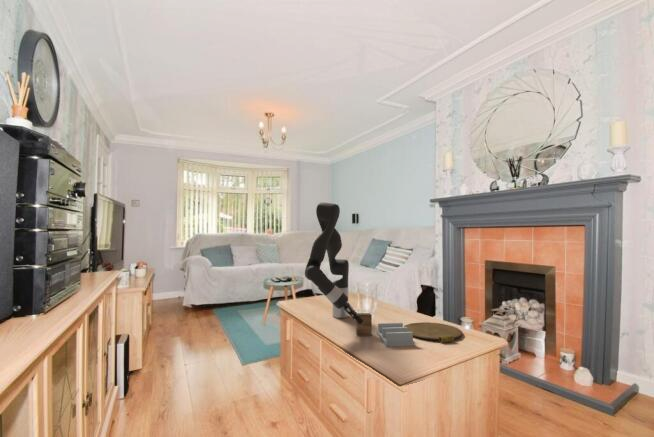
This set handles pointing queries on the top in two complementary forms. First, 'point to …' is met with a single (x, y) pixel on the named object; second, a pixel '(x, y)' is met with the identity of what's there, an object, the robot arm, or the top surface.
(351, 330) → the top surface
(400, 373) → the top surface
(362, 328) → the brown rectangular block
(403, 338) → the rack
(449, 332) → the decorative disc
